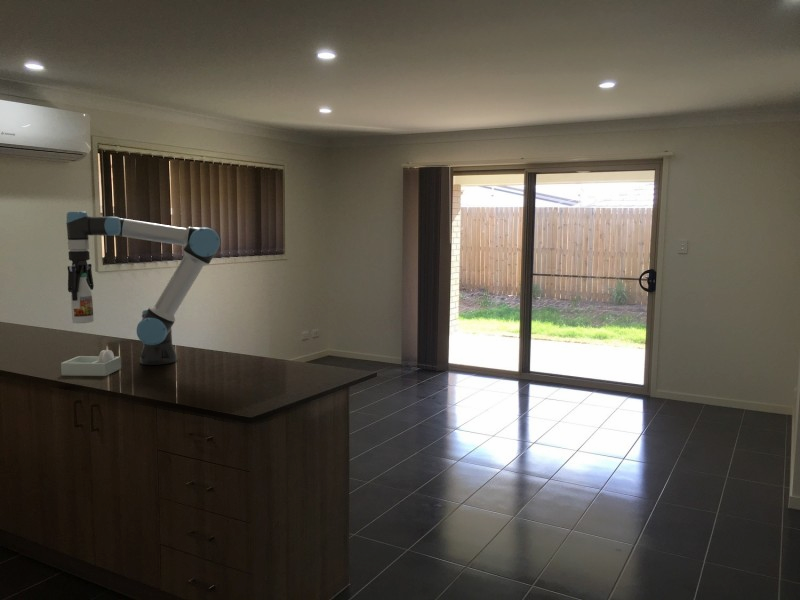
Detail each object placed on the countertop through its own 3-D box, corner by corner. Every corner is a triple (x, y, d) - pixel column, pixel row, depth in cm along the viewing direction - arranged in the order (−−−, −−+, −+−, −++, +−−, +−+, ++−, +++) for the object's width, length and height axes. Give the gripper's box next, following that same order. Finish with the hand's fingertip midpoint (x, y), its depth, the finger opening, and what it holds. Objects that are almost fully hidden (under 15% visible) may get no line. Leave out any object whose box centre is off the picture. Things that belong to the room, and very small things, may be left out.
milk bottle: (68, 323, 260) (64, 273, 258) (81, 320, 268) (78, 272, 265) (85, 324, 259) (82, 273, 256) (97, 321, 266) (95, 272, 264)
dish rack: (79, 367, 272) (78, 346, 271) (121, 368, 271) (120, 347, 270) (61, 375, 260) (60, 353, 258) (105, 375, 259) (104, 353, 257)
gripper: (83, 249, 270) (86, 303, 273) (54, 251, 250) (58, 310, 252) (101, 249, 269) (104, 303, 272) (73, 251, 249) (77, 310, 252)
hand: (82, 307), depth 262 cm, fingers closed on milk bottle, 7 cm apart
